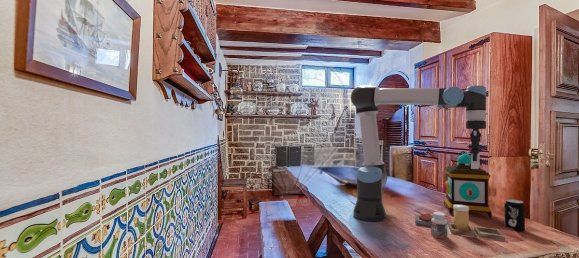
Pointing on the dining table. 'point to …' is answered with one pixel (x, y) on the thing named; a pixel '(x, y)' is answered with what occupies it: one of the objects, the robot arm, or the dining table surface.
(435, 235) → the pill bottle
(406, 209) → the dining table surface
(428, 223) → the grey square frame
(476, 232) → the wooden divided tray
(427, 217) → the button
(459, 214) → the amber capped bottle
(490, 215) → the decorative lantern
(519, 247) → the dining table surface
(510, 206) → the beverage can
